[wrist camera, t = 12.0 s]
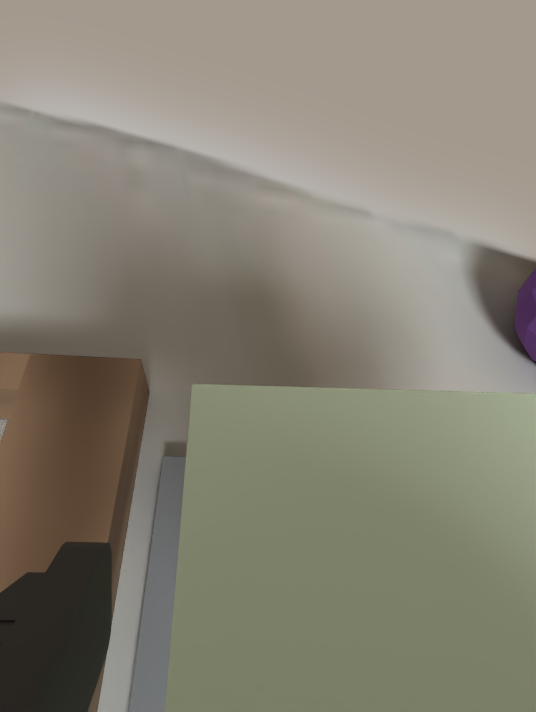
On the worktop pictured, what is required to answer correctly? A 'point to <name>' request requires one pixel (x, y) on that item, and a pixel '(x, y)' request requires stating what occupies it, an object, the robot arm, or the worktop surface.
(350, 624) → the sage block
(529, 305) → the purple maraca
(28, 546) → the puzzle board
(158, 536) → the slate mat
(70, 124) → the worktop surface
